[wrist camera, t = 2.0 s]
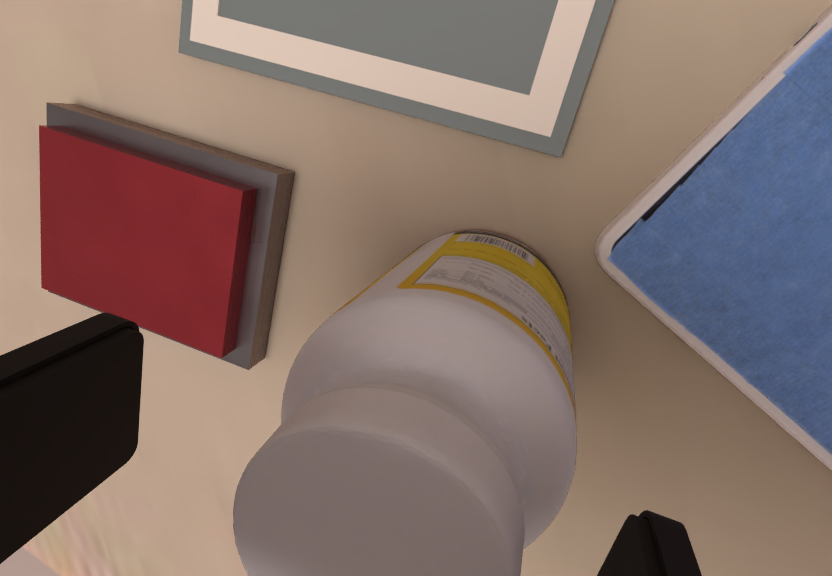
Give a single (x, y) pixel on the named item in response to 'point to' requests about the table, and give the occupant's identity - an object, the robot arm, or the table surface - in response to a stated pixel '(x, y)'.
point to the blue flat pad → (749, 242)
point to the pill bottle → (421, 424)
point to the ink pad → (161, 230)
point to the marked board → (419, 56)
